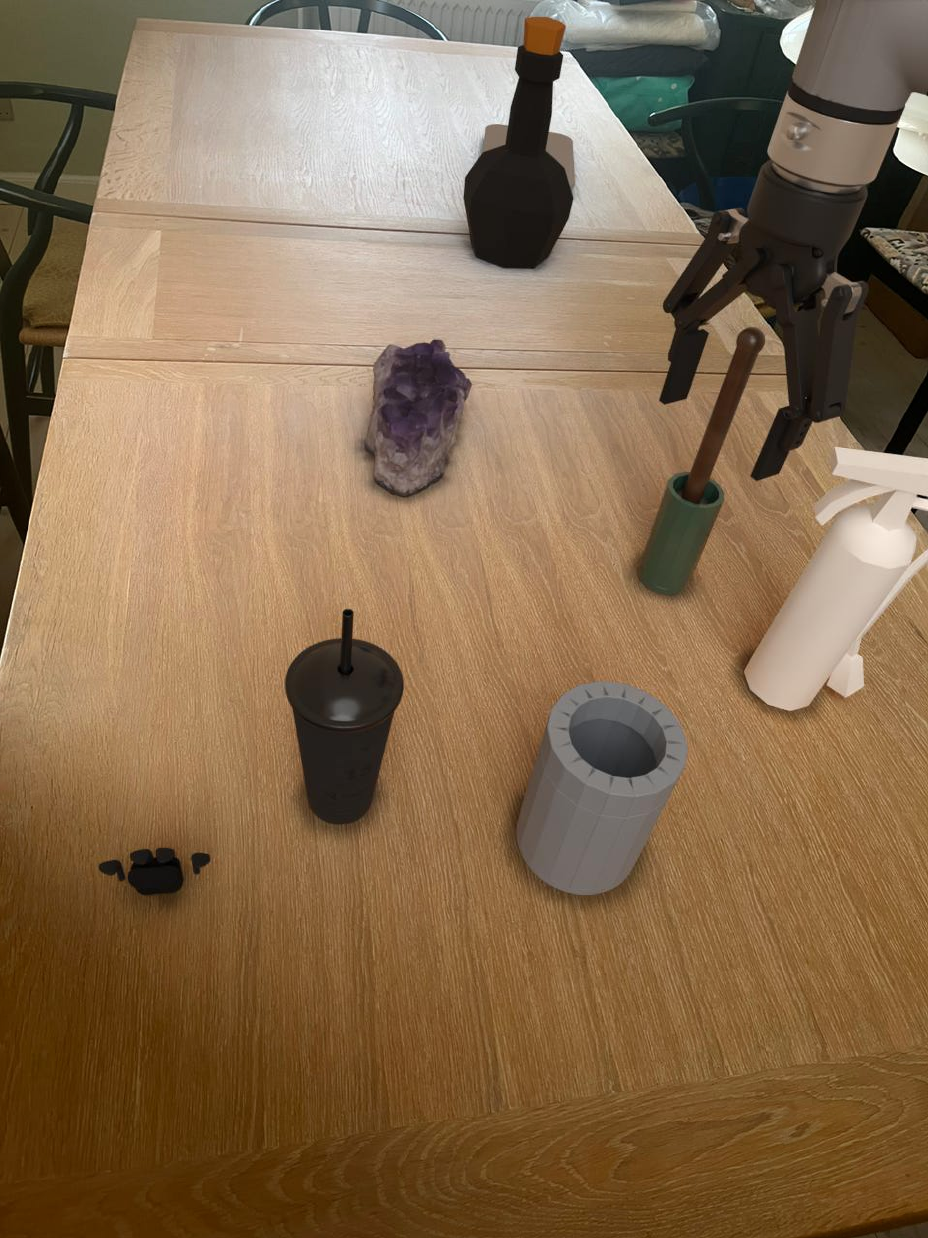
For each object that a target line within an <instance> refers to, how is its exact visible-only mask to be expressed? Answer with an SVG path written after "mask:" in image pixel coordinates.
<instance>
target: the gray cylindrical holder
mask: <svg viewBox="0 0 928 1238" xmlns="http://www.w3.org/2000/svg"><path fill="white" fill-rule="evenodd" d="M542 734H543V735H542V738H541V740H540V744H539V747H538V751H537V753H536V754H537V755H536V756H535V761H534V763H533V767H532V770H531V774H530V777H529V780H528V784H527V787H526V791H525V794H524V797H523V801H522V803H521V807H520V811H519V815H518V818H517V822H516V828H515V831H516V832H515V836H516V844H517V846H518V850H519V853H520V855H521V857H522V859H523V860H524V862H525V864H526V865H527V867H528V868H529V869H530V871H531V872H532V873H533V874H535V876H536V877H537V878H539V879H540V880H541V881H542V882H544V883H545V884H547V885H548V886H550V887H551V888H554V889H556V890H558V891H561V892H563V893H566V894H571V895H579V896H594V895H601V894H603V893H606V892H609V891H611V890H614V889H615V888H617V887H618V886H620V885H621V884H622V883H623V882H624V881H625V880H626V879H627V878H628V876H629V875H630V874H631V872H632V870H633V868H634V866H635V865H636V863H637V861H638V859H639V858H640V856H641V854H642V851H643V850H644V848H645V846H646V844H647V842H648V840H649V838H650V835H651V834H652V832H653V831H654V828H655V827H656V824H657V822H658V821H659V818H660V816H661V814H662V813H663V811H664V809H665V807H666V805H667V802H668V801H669V798H670V797H671V795H672V793H673V791H674V789H675V787H676V785H677V784H678V781H679V779H680V778H681V776H682V773H683V771H684V769H685V767H686V765H687V757H688V747H689V746H688V741H687V739H686V735H685V733H684V729H683V727H682V724H681V723H680V721H679V720H678V719H677V717H676V716H675V715H674V713H673V712H672V711H671V710H670V709H669V707H668V706H666V704H664V703H663V702H661V701H660V700H658V698H656V697H654V696H653V695H652V694H650V693H649V692H647V691H645V690H642V689H640V688H637V687H634V686H632V685H631V684H627V683H622V682H614V681H607V680H599V681H594V682H593V681H592V682H587V683H582V684H579V685H577V686H575V687H573V688H571V689H569V690H567V691H566V692H564V693H563V694H562V695H561V696H560V697H559V698H558V699H557V701H556V702H555V703H554V705H553V706H552V707H551V709H550V712H549V715H548V718H547V720H546V724H545V728H544V732H543V733H542Z"/></svg>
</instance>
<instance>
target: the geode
mask: <svg viewBox="0 0 928 1238" xmlns="http://www.w3.org/2000/svg"><path fill="white" fill-rule="evenodd" d="M446 349H447V347H446V344H445V342H444V341H443V340H442V339H439V338H438V339H432V340H431V341H430V342H426V341H425V342H424V341H423V342H417V343H415V344H412V345H410V346H407V347H404V348H403V347H401V346H398V345H396V344H388V345H387V346H386V348H384V349H383V351H382V352H381V353H380V355H379V356H378V357H377V359H376V361H374V362H373V367H372V372H373V385H372V391H373V396H372V399H373V405H372V410H371V413H370V415H369V416H370V417H369V425H368V429H367V434H366V437H365V439H364V449H365V450H366V451H368V452H369V453H370V454H372V455H373V457H374V463H373V478H374V483H375V484H376V485H378V486H379V487H381V488H382V489H384V490H385V491H386V492H388V493H390V494H391V495H395V496H396V495H397V496H399V497H401V498H408V497H410V496H414V495H417V494H418V493H421V491H424V490H426V489H428V488H429V487H431V485H433V484H436V483H437V482H438V481H440V480H441V479H442V478H443V477H444V475H445V472H446V468H447V466H448V464H449V462H450V455H451V450H452V447H453V445H454V444H456V439H457V431H458V428H459V422H460V421H461V420H462V418H463V415H464V408H465V402H466V401H467V399H468V398H469V394H470V391H471V389H472V386H473V383H472V381H471V380H470V378H467V376H466V375H465V373H464V372H463V371H462V370H461V369H460V368H459V367H456V366H455V364H454V363H453V361H452V359H451V358H450V356H451V354H450V352H449V351H446Z"/></svg>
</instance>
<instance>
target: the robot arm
mask: <svg viewBox="0 0 928 1238" xmlns="http://www.w3.org/2000/svg"><path fill="white" fill-rule="evenodd" d="M913 93H914V94H915V93H916V94H920V95H924V96H926V97H928V0H816V2H815V4H814V6H813V10H812V13H811V17H810V19H809V22H808V26H807V28H806V33H805V35H804V38H803V42H802V45H801V48H800V51H799V54H798V57H797V60H796V62H795V66H794V69H793V72H792V75H791V79H790V81H789V85H788V88H787V91H786V94H785V96H784V99H783V103H782V105H781V108H780V111H779V114H778V116H777V117H778V118H777V121H776V123H775V126H774V129H773V132H772V135H771V138H770V141H769V144H768V147H767V155H768V157H769V160H767V161H766V162H765V163H763V164H762V165H761V167H760V169H759V172H758V175H757V178H756V181H755V184H754V187H753V189H752V192H751V196H750V199H749V201H748V204H747V208H746V211H745V209H744V208H742V207H737V208H736V207H735V208H731V209H724V210H723V209H722V210H717V211H715V212H714V213H713V214H712V217H711V219H710V223H709V226H708V228H707V232H706V236H705V238H704V239H703V241H702V243H701V244H700V246H699V247H698V249H697V250H696V252H695V253H694V254H693V256H692V258H691V259H690V261H689V263H688V264H687V265H686V267H685V269H684V270H683V272H682V273H681V275H680V276H679V277H678V278H677V280H676V282H675V283H674V285H673V287H672V288H671V289H670V291H669V293H668V294H667V295H666V297H665V298H664V300H663V302H662V310H663V312H664V313H665V314H670V315H671V316H672V318H673V319H674V321H673V325H674V328H675V330H674V333H673V336H672V340H671V344H670V346H669V349H668V353H667V361H668V362H669V363H670V364H669V367H668V370H667V373H666V377H665V380H664V383H663V386H662V389H661V393H660V396H659V399H658V401H659V402H660V403H661V404H662V405H664V406H666V405H669V404H673V403H676V402H677V403H678V402H680V401H684V400H687V399H688V397H689V394H690V391H691V387H692V385H693V382H694V379H695V377H696V373H697V370H698V368H699V364H700V362H701V359H702V355H703V353H704V350H705V347H706V344H707V341H708V338H709V335H710V332H708V331H707V330H706V329H704V328H701V329H700V327H703V326H707V325H710V322H709V321H710V320H711V319H712V318H714V317H715V316H716V315H718V314H719V313H720V312H721V311H723V310H724V309H725V308H726V307H728V306H729V305H730V304H732V303H733V302H734V301H736V299H737V298H739V297H740V296H741V295H743V294H744V293H745V292H747V293H749V294H750V295H751V296H754V297H758V298H761V299H762V301H763V302H764V303H765V304H766V305H767V306H768V307H770V308H771V309H773V310H775V314H776V315H775V316H776V322H777V325H778V326H780V327H781V330H782V341H783V351H784V353H783V354H784V364H785V376H786V387H787V398H788V405H787V406H783V407H780V408H778V410H777V412H776V415H775V417H774V419H773V421H772V424H771V426H770V429H769V431H768V433H767V435H766V438H765V441H764V443H763V445H762V447H761V449H760V452H759V454H758V456H757V459H756V461H755V464H754V466H753V468H752V471H751V473H750V475H749V477H750V478H752V479H753V480H755V482H759V481H763V480H765V479H767V478H770V477H774V476H777V475H779V474H781V471H782V469H783V467H784V464H785V462H786V460H787V458H788V456H789V453H790V451H794V450H797V449H799V448H800V447H801V446H802V445H803V444H804V441H805V438H806V437H807V434H808V433H809V430H810V429H811V426H812V424H813V423H815V424H819V423H823V422H825V421H829V420H832V419H835V418H839V417H841V416H842V415H844V413H845V412H846V411H845V410H846V403H847V396H848V388H849V382H850V374H851V369H852V368H851V367H852V359H853V352H854V346H855V338H856V330H857V323H858V316H859V314H860V312H861V309H862V307H863V305H864V303H865V301H866V298H867V296H868V295H869V285H868V283H867V281H864V280H859V281H853V282H852V281H851V280H849V279H847V278H846V277H845V276H842V275H841V274H839V273H838V257H839V254H840V252H841V250H842V249H843V248H844V247H845V244H846V243H848V241H849V240H850V238H851V236H852V234H853V231H854V229H855V227H856V225H857V221H858V219H859V217H860V215H861V212H862V209H863V207H864V205H865V203H866V201H867V198H868V195H869V192H868V188H867V185H869V184H870V183H872V182H873V181H875V180H876V177H877V176H878V173H879V171H880V169H881V166H882V163H883V161H884V159H885V156H886V155H887V151H888V150H889V147H890V145H891V142H892V141H893V140H892V139H893V137H894V135H895V132H896V130H897V129H898V128H897V127H898V126H899V122H900V120H901V117H902V115H903V113H904V111H905V108H906V104H907V103H908V100H909V98H910V97H911V95H912V94H913ZM746 214H747V215H746ZM737 243H738V245H739V253H740V259H739V260H738V261H737V262H736V263H734V265H733V266H731V267H730V268H728V270H726V271H725V272H724V273H723V274H722V275H721V277H722V278H720V279H719V280H718V281H717V282H716V283H715V284H714V285H712V286H711V287H710V288H709V289H708V290H707V291H705V290H706V288H707V287H708V286H709V284H710V283H711V282H712V280H713V279H714V277H715V276H716V274H717V273H718V271H720V269H721V267H722V266H723V264H724V263H725V262H726V260H727V258H728V257H729V256H730V254H731V253H732V251H733V250H734V248H735V247H736V245H737ZM704 291H705V292H704ZM821 291H824V298H823V299H821ZM800 305H802V309H801V310H798V311H795V309H794V308H796V307H798V306H800ZM822 307H823V308H824V309H823V311H822ZM820 318H821V319H820ZM819 319H820V325H819V323H818V321H819Z"/></svg>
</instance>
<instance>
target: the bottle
mask: <svg viewBox="0 0 928 1238" xmlns="http://www.w3.org/2000/svg"><path fill="white" fill-rule="evenodd" d="M566 28H567V25H565V23H563V21H559V20H557V19H555V18H552V17H549V16H529V17H525V18H524V26H523V29H524V30H523V44H522V45H519V46H517V52H516V57H515V58H516V59H515V63H514V64H515V65H514V71H515V74H516V75H517V77H518V80H517V83H516V87H515V91H514V94H513V97H512V101H511V104H510V109H509V116H508V123H507V125H508V129H507V136H506V143H505V145H502V146H499V147H497V148H494V149H491V150H488V151H485V152H482V151H481V154H480V155H479V156H478V158H477V159H476V161H475V162H474V164H473V165H472V167H471V168H470V170H469V171H468V172H467V174H466V175H465V177H464V184H463V195H462V196H463V204H464V211H465V216H466V222H467V228H468V234H469V241H470V244H471V247H472V250H473V252H474V254H475V257H476V258H479V259H481V260H483V261H485V262H488V263H491V264H493V265H495V266H497V267H500V268H502V269H535V268H536V267H538V266H539V265H541V264H542V263H543V262H545V261H546V260H548V259H549V257H550V255H551V253H552V251H553V249H554V247H555V245H556V243H557V241H558V240H559V238H560V237H561V234H562V232H563V230H564V229H565V227H566V225H567V223H568V222H569V219H570V215H571V212H572V208H573V204H574V203H573V202H574V200H575V199H574V195H573V191H572V189H571V188H570V185H569V181H568V178H567V175H566V171H565V168H564V167H563V166H562V165H561V164H560V163H559V162H558V161H557V160H556V159H555V158H554V157H553V156H551V155H550V154H549V153H548V152H547V151H546V145H547V140H548V134H549V132H550V128H551V123H552V117H553V116H552V115H553V100H554V99H553V97H554V94H553V93H554V82H555V81H557V80H559V79H560V77H561V71H562V66H563V60H564V54H563V53H562V52H561V51H560V50H561V45H562V42H563V38H564V35H565V31H566Z"/></svg>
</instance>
